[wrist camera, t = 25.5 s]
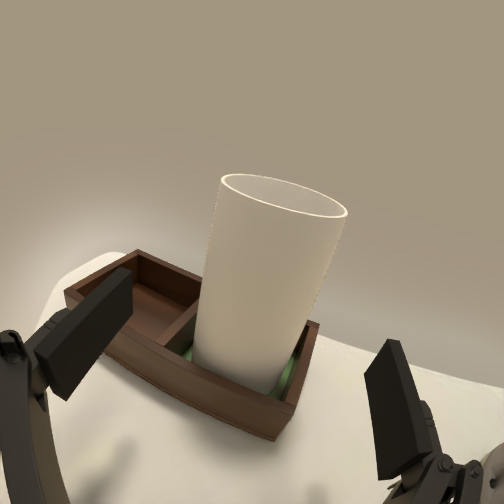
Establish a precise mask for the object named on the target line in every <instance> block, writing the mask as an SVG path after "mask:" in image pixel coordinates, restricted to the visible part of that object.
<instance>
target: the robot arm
mask: <svg viewBox="0 0 504 504" xmlns="http://www.w3.org/2000/svg"><path fill="white" fill-rule="evenodd" d="M132 314H133V294H132V271H131V270H128V269H125V268H122V267H119V268H118V269H116V270H115V271H114V272H113V273H112V274H111V275H110V276H108V277H107V278H106V279H105V280H104V281H103V282H102V283H101V284H100V285H98V286H97V287H96V288H95V289H94V290H93V291H92V292H91V293H90V294H89V295H87V296H86V297H85V298H84V299H83V300H82V301H81V302H80V303H79V304H78V305H77V306H76V307H75V308H74V309H73V310H72V311H71V310H69V309H67V308H64V309H62V310H60V311H58V312H56V313H55V314H54V315H53V316H52V317H51V318H50V319H49V321H46V322H45V323H44V324H43V326H41V327H40V328H39V329H38V330H37V331H36V332H35V333H34V334H33V335H32V336H31V337H30V338H29V339H28V340H27V341H26V342H25V343H24V344H23V341H22V339H21V336H20V335H19V333H18V332H16V331H14V330H6V331H3V332H1V333H0V453H1V454H2V462H3V468H4V474H5V480H6V485H7V489H8V494H9V498H10V502H11V504H70V502H69V499H68V496H67V492H66V489H65V486H64V483H63V479H62V476H61V472H60V468H59V464H58V460H57V455H56V451H55V446H54V441H53V435H52V429H51V423H50V416H49V408H48V399H47V392H46V389H47V387H48V386H50V388H51V390H52V392H53V393H54V394H56V395H57V396H59V397H60V398H62V399H63V400H65V401H67V400H68V399H69V397H70V396H71V394H72V393H73V392H74V390H75V389H76V387H77V386H78V385H79V383H80V382H81V380H82V379H83V378H84V376H85V375H86V374H87V372H88V371H89V370H90V368H91V367H92V366H93V364H94V363H95V362H96V360H97V359H98V358H99V356H100V355H101V354H102V352H103V351H104V350H105V349H106V347H107V346H108V345H109V343H110V342H111V341H112V340H113V338H114V337H115V336H116V334H117V333H118V332H119V331H120V329H121V328H122V327H123V326H124V324H125V323H126V322H127V321H128V319H129V318H130V317H131V316H132ZM364 378H365V383H366V389H367V394H368V400H369V407H370V413H371V420H372V427H373V435H374V443H375V451H376V461H377V472H378V480H390V479H394V478H395V477H397V476H399V475H400V474H401V478H402V479H401V480H399V481H398V482H396V483H394V484H392V485H391V486H389V487H388V488H387V489H388V490H389V489H391V488H393V487H394V488H393V490H392V491H391V493H390V494H389V496H388V497H387V498H386V500H385V501H384V503H383V504H504V443H502V444H500V445H499V446H497V447H496V448H495V449H494V450H492V451H491V452H490V453H489V454H487V455H486V456H485V457H484V458H483V459H482V461H481V462H479V461H477V460H472V461H470V462H468V463H467V464H466V465H460V464H455V463H454V462H453V460H452V458H451V457H450V456H449V455H447V454H443V453H442V450H441V446H440V442H439V438H438V434H437V430H436V427H435V423H434V420H433V416H432V413H431V410H430V408H429V406H428V405H427V403H426V402H425V401H422V400H420V399H419V396H418V392H417V389H416V386H415V383H414V380H413V377H412V374H411V371H410V368H409V365H408V363H407V360H406V357H405V354H404V352H403V349H402V346H401V343H400V341H398V340H392V339H387V340H386V342H385V344H384V345H383V347H382V348H381V350H380V351H379V353H378V354H377V356H376V357H375V359H374V360H373V362H372V363H371V365H370V366H369V367H368V369H367V370H366V372H365V373H364ZM453 497H454V500H453V502H452V503H450V500H451V498H453Z"/></svg>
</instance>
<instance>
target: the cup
mask: <svg viewBox="0 0 504 504" xmlns="http://www.w3.org/2000/svg"><path fill="white" fill-rule="evenodd" d="M347 214H348V212H347V210H346V209H345V208H344V207H343V206H342V205H341V204H339V203H338V202H336V201H335V200H333V199H331V198H329V197H327V196H325V195H323V194H321V193H318V192H316V191H314V190H311V189H309V188H306V187H303V186H300V185H296V184H293V183H290V182H286V181H283V180H279V179H274V178H269V177H264V176H257V175H249V174H230V175H225V176H223V177H222V178H221V181H220V185H219V189H218V194H217V199H216V205H215V210H214V215H213V220H212V226H211V231H210V237H209V242H208V249H207V254H206V260H205V266H204V272H203V279H202V285H201V291H200V298H199V305H198V312H197V319H196V326H195V333H194V341H193V349H192V357H191V362H193V363H195V364H197V365H199V366H201V367H203V368H205V369H207V370H209V371H211V372H213V373H215V374H218V375H220V376H222V377H224V378H226V379H229V380H231V381H233V382H235V383H238V384H240V385H242V386H245V387H247V388H249V389H252V390H254V391H257V392H259V393H262V394H264V395H268V394H269V393H270V392H272V390H273V389H274V388H275V387H276V385H277V383H278V381H279V379H280V377H281V375H282V373H283V371H284V369H285V367H286V365H287V363H288V361H289V359H290V357H291V355H292V353H293V350H294V348H295V346H296V344H297V342H298V340H299V337H300V335H301V333H302V331H303V328H304V326H305V324H306V322H307V319H308V317H309V315H310V312H311V310H312V308H313V305H314V303H315V301H316V298H317V296H318V293H319V291H320V288H321V286H322V284H323V281H324V279H325V276H326V273H327V271H328V268H329V266H330V263H331V261H332V258H333V255H334V253H335V250H336V247H337V245H338V242H339V239H340V236H341V233H342V231H343V228H344V225H345V222H346V219H347Z"/></svg>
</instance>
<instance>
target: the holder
mask: <svg viewBox="0 0 504 504" xmlns="http://www.w3.org/2000/svg"><path fill="white" fill-rule="evenodd" d="M119 267H122V268H125V269H128V270H131V271H132V294H133V314H132V316H131V317H130V318H129V319H128V321H127V322H126V323H125V324H124V326H123V327H122V328H121V329H120V331H119V332H118V333H117V334H116V336H115V337H114V338H113V340H112V341H111V342H110V343H109V345H108V346H107V347H106V349H105V350H104V351H103V352H104V353H106V354H107V355H109V356H110V357H111V358H113V359H114V360H116V361H117V362H119V363H120V364H121V365H123V366H124V367H126V368H127V369H129V370H130V371H132V372H133V373H135V374H137V375H138V376H140V377H141V378H143V379H145V380H146V381H148V382H149V383H151V384H153V385H154V386H156V387H158V388H159V389H161V390H163V391H165V392H166V393H168V394H170V395H172V396H173V397H175V398H177V399H179V400H181V401H183V402H185V403H186V404H188V405H190V406H192V407H194V408H196V409H198V410H200V411H202V412H204V413H206V414H208V415H210V416H213V417H215V418H217V419H219V420H221V421H223V422H226V423H228V424H230V425H233V426H235V427H237V428H240V429H242V430H244V431H247V432H249V433H252V434H254V435H257V436H260V437H262V438H265V439H268V440H271V441H273V442H274V441H275V440H276V439H277V437H278V436H279V435H280V433H281V432H282V431H283V429H284V428H285V426H286V425H287V424H288V422H289V421H290V419H291V418H292V417H293V415H294V412H295V409H296V406H297V403H298V400H299V397H300V393H301V390H302V387H303V384H304V380H305V377H306V374H307V370H308V367H309V363H310V360H311V356H312V352H313V349H314V345H315V341H316V337H317V333H318V329H319V325H320V324H318V323H316V322H313V321H310V320H308V319H307V322H306V324H305V326H304V328H303V331H302V333H301V335H300V337H299V340H298V342H297V344H296V346H295V348H294V350H293V353H292V355H291V357H290V359H289V361H288V363H287V365H286V367H285V369H284V371H283V373H282V375H281V377H280V379H279V381H278V383H277V385H276V387H275V388H274V389H273V390H272V392H270V393H269V394H268V395H264V394H262V393H259V392H257V391H254V390H252V389H249V388H247V387H245V386H242V385H240V384H238V383H235V382H233V381H231V380H229V379H226V378H224V377H222V376H220V375H218V374H215V373H213V372H211V371H209V370H207V369H205V368H203V367H201V366H199V365H197V364H195V363H193V362H191V357H192V349H193V341H194V333H195V326H196V319H197V312H198V305H199V298H200V291H201V285H202V279H203V278H202V277H200V276H197V275H195V274H193V273H191V272H188V271H186V270H183V269H181V268H179V267H177V266H174V265H172V264H170V263H168V262H165V261H163V260H161V259H158V258H157V257H154V256H152V255H150V254H148V253H146V252H143V251H141V250H139V249H137V250H135V251H133V252H131V253H129V254H127V255H126V256H124V257H122V258H120V259H118V260H116V261H114V262H113V263H111V264H109V265H107V266H105V267H103V268H102V269H100V270H98V271H96V272H94V273H93V274H91V275H89V276H87V277H86V278H84V279H82V280H80V281H79V282H77V283H75V284H73V285H72V286H70V287H68V288H66V289H65V290H64V296H65V301H66V306H67V309H69V310H71V311H72V310H73V309H74V308H75V307H76V306H77V305H78V304H79V303H80V302H81V301H82V300H83V299H84V298H85V297H86V296H87V295H89V294H90V293H91V292H92V291H93V290H94V289H95V288H96V287H97V286H98V285H100V284H101V283H102V282H103V281H104V280H105V279H106V278H107V277H108V276H110V275H111V274H112V273H113V272H114V271H115V270H116V269H118V268H119Z"/></svg>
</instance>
